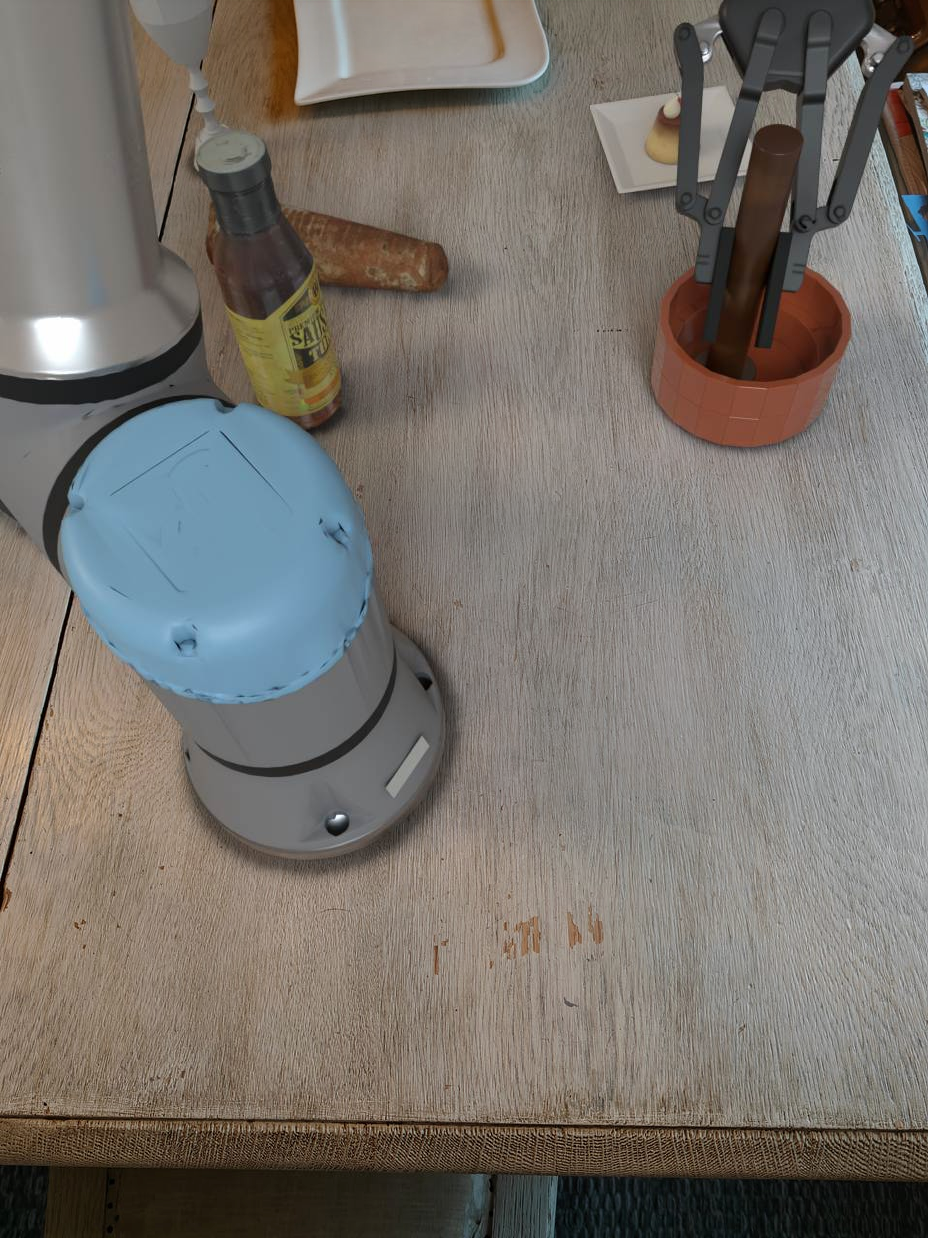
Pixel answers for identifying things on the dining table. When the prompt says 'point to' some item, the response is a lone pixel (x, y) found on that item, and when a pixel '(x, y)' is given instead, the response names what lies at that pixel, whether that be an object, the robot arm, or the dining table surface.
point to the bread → (360, 253)
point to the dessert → (661, 138)
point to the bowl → (784, 373)
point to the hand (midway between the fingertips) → (735, 343)
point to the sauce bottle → (269, 284)
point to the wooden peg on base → (753, 247)
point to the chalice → (184, 47)
